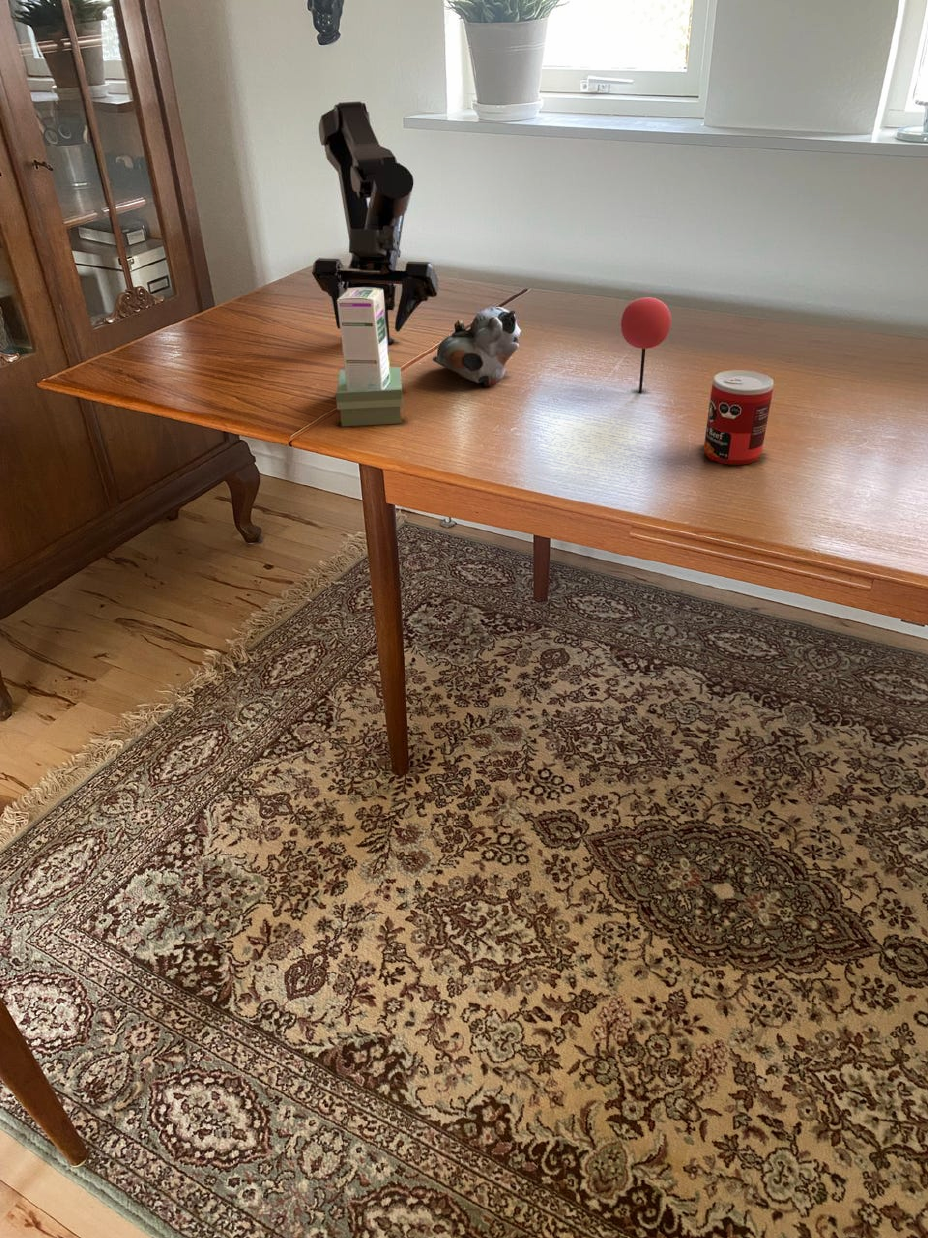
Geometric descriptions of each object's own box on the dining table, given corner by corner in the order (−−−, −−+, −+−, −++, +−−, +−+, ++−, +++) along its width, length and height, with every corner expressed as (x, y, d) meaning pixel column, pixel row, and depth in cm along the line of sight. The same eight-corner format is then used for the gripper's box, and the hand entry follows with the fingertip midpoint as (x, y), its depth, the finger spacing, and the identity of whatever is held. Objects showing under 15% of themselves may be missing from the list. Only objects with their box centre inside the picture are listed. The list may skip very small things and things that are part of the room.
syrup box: (382, 394, 142) (375, 298, 133) (345, 392, 142) (336, 297, 134) (391, 380, 146) (385, 287, 138) (355, 379, 147) (346, 285, 139)
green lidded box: (401, 389, 154) (399, 357, 150) (404, 423, 142) (402, 389, 139) (341, 392, 153) (338, 360, 150) (339, 427, 142) (335, 392, 138)
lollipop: (666, 385, 153) (676, 292, 144) (659, 402, 147) (669, 307, 138) (620, 380, 155) (628, 289, 146) (611, 397, 149) (618, 303, 140)
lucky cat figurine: (442, 359, 165) (476, 285, 159) (501, 391, 164) (537, 317, 159) (421, 364, 151) (458, 282, 146) (486, 398, 150) (525, 318, 145)
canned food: (696, 444, 134) (706, 370, 128) (750, 441, 134) (762, 367, 128) (712, 467, 128) (723, 391, 121) (768, 464, 128) (782, 388, 122)
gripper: (308, 201, 137) (291, 299, 134) (430, 204, 133) (415, 305, 131) (331, 244, 147) (315, 335, 145) (444, 247, 144) (431, 341, 142)
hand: (367, 328), depth 140 cm, fingers open, 9 cm apart
